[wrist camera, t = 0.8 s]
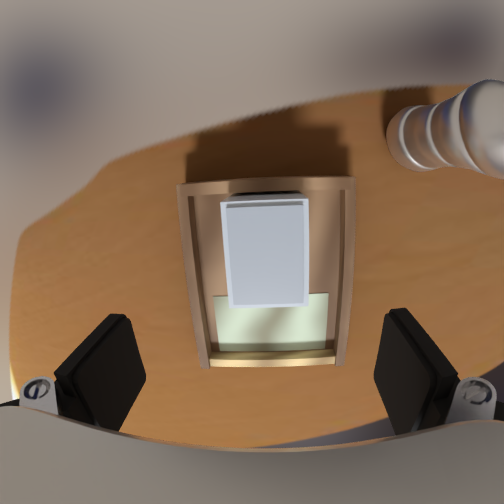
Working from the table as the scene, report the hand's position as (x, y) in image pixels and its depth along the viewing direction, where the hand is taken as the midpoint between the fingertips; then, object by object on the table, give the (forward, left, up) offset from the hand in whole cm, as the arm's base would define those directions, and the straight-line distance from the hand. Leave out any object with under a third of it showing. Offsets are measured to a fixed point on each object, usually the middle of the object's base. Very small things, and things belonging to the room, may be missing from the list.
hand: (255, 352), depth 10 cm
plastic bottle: (-15, -9, -20) cm, 27 cm away
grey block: (0, 0, -19) cm, 19 cm away
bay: (0, +5, -20) cm, 21 cm away
